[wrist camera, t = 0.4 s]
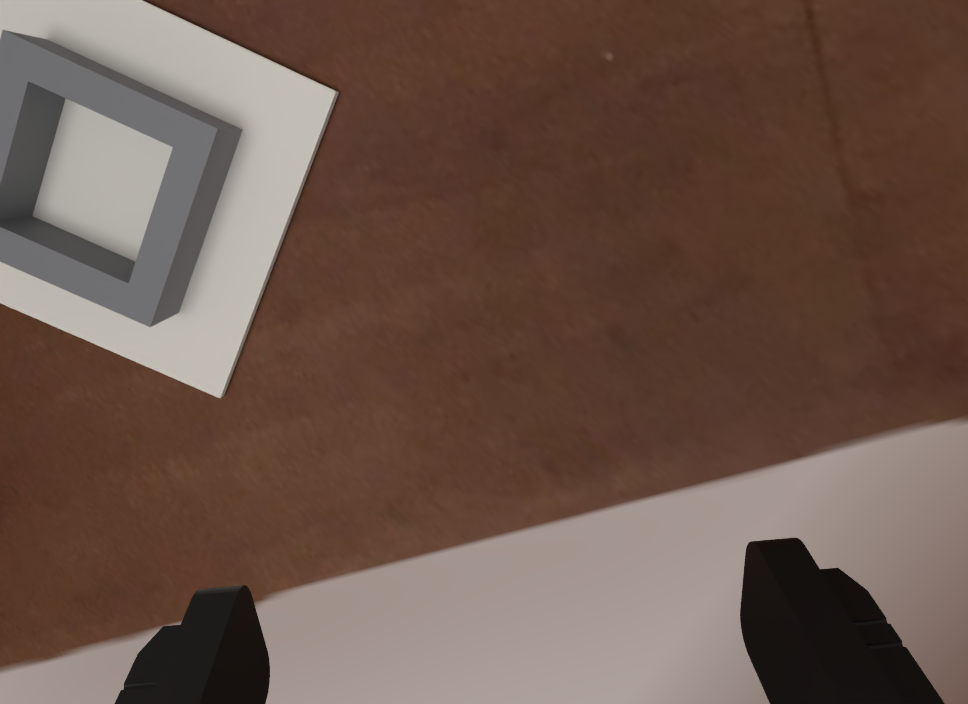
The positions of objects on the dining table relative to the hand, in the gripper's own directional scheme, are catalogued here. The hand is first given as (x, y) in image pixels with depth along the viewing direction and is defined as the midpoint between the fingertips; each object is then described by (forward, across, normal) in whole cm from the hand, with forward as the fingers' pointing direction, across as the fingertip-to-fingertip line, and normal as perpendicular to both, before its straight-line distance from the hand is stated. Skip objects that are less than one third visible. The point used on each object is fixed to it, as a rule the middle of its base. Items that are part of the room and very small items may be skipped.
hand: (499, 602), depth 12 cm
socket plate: (+27, +16, -2) cm, 32 cm away
